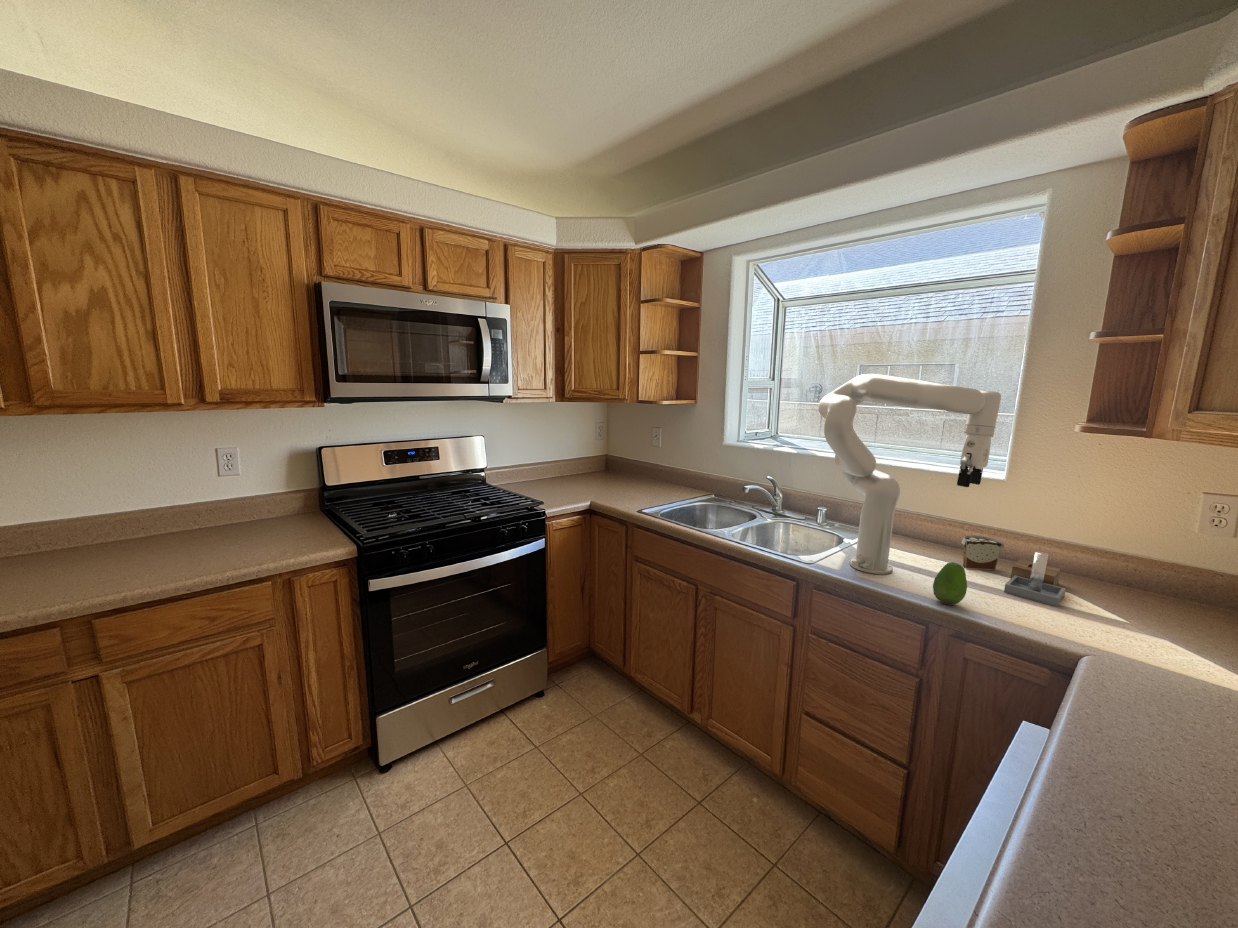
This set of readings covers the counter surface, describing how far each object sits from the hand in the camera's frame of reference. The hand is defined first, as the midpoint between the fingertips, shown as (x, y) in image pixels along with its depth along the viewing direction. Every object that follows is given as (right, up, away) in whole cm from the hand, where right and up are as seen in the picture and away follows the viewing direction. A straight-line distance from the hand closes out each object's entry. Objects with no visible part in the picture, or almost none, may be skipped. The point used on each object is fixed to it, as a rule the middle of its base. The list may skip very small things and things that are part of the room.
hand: (968, 485), depth 156 cm
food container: (+10, -28, +11) cm, 32 cm away
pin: (+12, -31, -11) cm, 35 cm away
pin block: (+19, -30, -2) cm, 36 cm away
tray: (+12, -32, -11) cm, 35 cm away
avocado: (-19, -32, -18) cm, 41 cm away
